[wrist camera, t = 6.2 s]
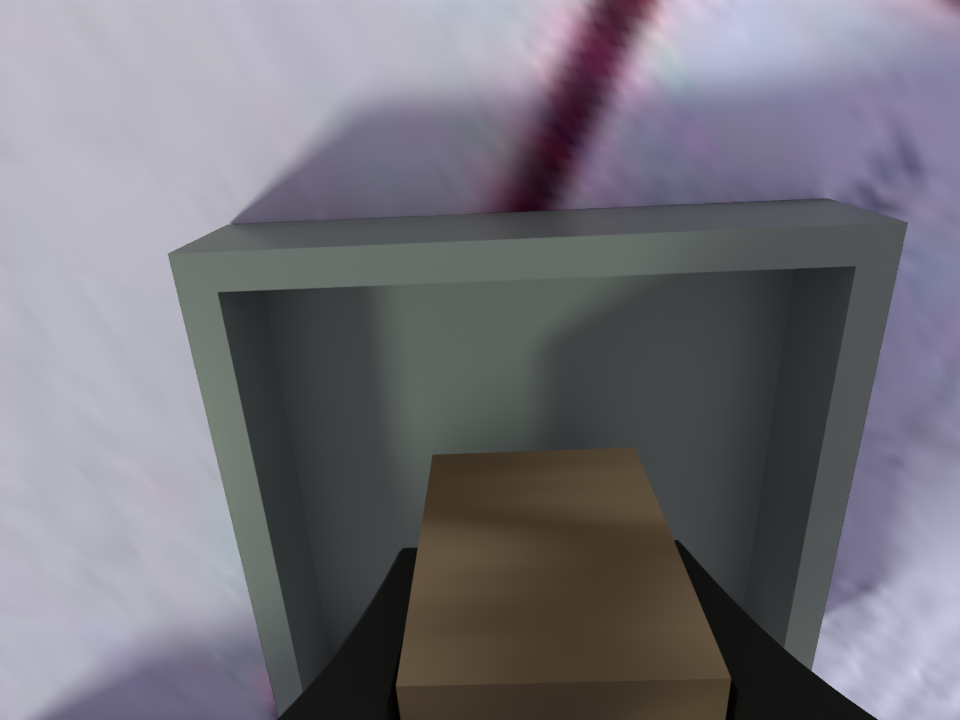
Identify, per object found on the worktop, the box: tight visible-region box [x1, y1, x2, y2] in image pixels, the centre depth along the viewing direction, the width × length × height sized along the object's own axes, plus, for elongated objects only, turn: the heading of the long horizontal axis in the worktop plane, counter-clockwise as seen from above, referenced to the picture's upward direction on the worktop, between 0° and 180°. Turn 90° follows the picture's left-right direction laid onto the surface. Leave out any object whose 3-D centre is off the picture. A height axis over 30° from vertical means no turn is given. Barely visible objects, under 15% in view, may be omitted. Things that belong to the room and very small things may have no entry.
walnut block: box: [396, 447, 731, 720], centre depth 12 cm, size 4×4×6 cm
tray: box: [168, 198, 908, 717], centre depth 16 cm, size 14×14×3 cm
